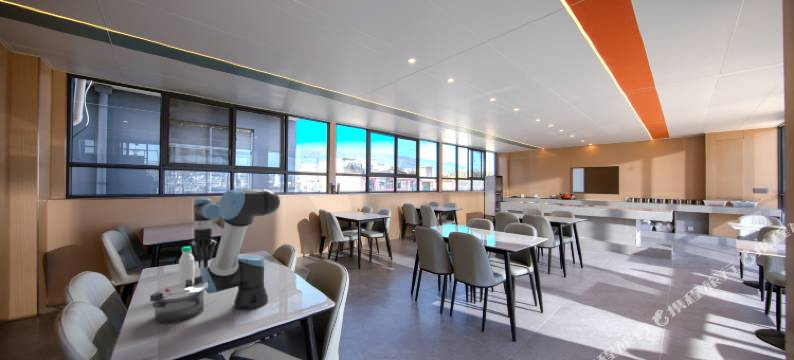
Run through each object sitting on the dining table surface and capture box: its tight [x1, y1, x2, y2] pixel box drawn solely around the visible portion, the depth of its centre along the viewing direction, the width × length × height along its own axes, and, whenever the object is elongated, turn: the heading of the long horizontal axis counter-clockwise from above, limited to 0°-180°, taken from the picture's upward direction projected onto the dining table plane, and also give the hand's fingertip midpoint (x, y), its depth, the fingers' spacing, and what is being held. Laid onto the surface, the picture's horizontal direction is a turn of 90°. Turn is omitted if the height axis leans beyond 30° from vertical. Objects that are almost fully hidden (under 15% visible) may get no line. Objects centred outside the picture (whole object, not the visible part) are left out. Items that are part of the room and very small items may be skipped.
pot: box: [152, 289, 205, 325], centre depth 136 cm, size 26×19×10 cm
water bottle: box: [178, 245, 196, 284], centre depth 161 cm, size 7×7×25 cm
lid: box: [149, 275, 205, 303], centre depth 136 cm, size 28×20×4 cm
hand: (203, 273), depth 151 cm, fingers closed
